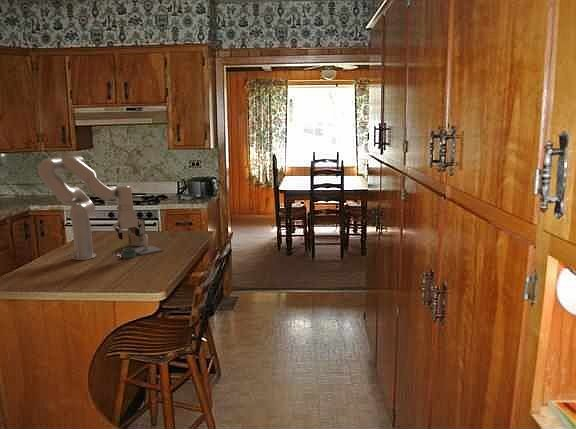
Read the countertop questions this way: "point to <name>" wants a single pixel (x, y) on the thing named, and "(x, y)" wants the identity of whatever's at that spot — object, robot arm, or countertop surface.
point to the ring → (128, 252)
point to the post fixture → (147, 248)
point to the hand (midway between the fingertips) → (129, 237)
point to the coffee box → (137, 239)
